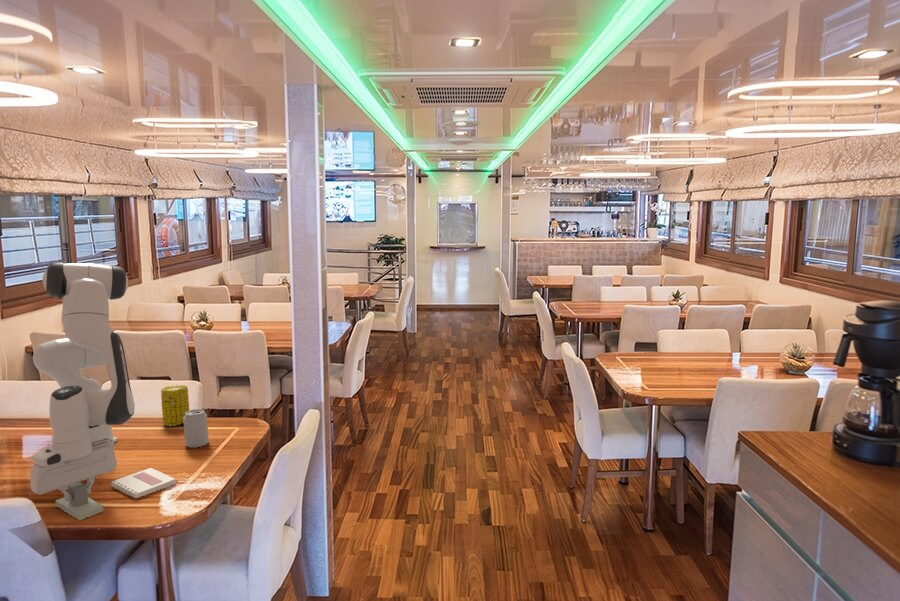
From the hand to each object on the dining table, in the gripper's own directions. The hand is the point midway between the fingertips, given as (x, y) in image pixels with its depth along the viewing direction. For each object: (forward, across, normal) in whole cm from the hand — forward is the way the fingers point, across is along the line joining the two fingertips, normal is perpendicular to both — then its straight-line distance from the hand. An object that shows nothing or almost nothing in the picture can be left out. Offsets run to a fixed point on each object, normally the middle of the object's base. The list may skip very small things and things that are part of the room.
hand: (78, 496), depth 163 cm
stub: (+4, 0, 0) cm, 4 cm away
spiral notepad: (+4, -18, 0) cm, 18 cm away
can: (+4, -44, -16) cm, 47 cm away
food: (+4, -53, -43) cm, 68 cm away
